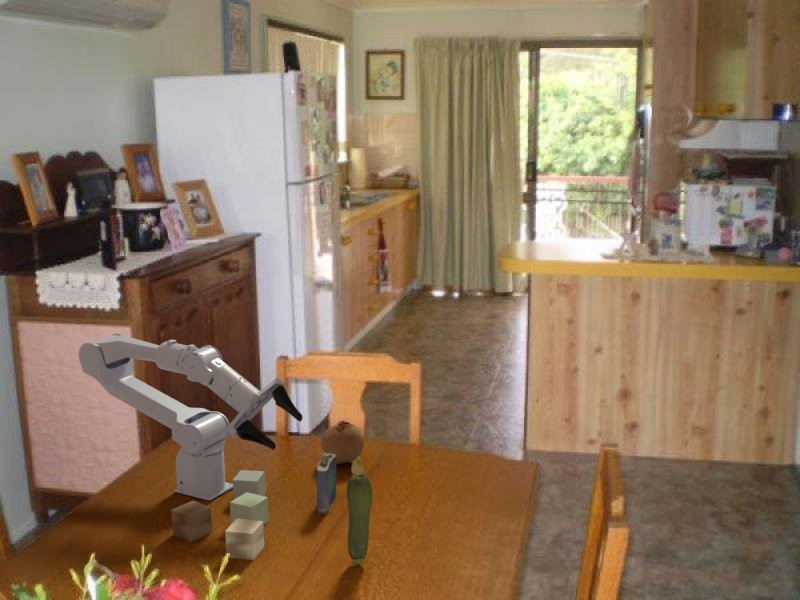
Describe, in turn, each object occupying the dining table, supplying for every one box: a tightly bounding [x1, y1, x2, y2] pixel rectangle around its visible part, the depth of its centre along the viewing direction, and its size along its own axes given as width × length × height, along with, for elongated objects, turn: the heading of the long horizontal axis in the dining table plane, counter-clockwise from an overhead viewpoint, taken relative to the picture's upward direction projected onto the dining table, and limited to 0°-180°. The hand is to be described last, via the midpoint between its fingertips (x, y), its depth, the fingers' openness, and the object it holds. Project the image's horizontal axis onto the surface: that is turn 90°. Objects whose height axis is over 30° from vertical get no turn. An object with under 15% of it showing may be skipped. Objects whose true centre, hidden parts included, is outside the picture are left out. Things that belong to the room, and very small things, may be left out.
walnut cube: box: [170, 500, 213, 544], centre depth 163 cm, size 5×5×5 cm
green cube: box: [229, 492, 270, 526], centre depth 167 cm, size 5×5×5 cm
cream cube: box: [224, 518, 265, 561], centre depth 156 cm, size 5×5×5 cm
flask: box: [316, 451, 337, 515], centre depth 175 cm, size 9×3×11 cm, turn 172°
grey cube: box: [232, 469, 266, 500], centre depth 178 cm, size 5×5×5 cm
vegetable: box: [346, 455, 373, 567], centre depth 151 cm, size 4×4×20 cm
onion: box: [320, 420, 365, 465], centre depth 195 cm, size 10×9×10 cm
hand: (287, 432), depth 171 cm, fingers open, 7 cm apart
